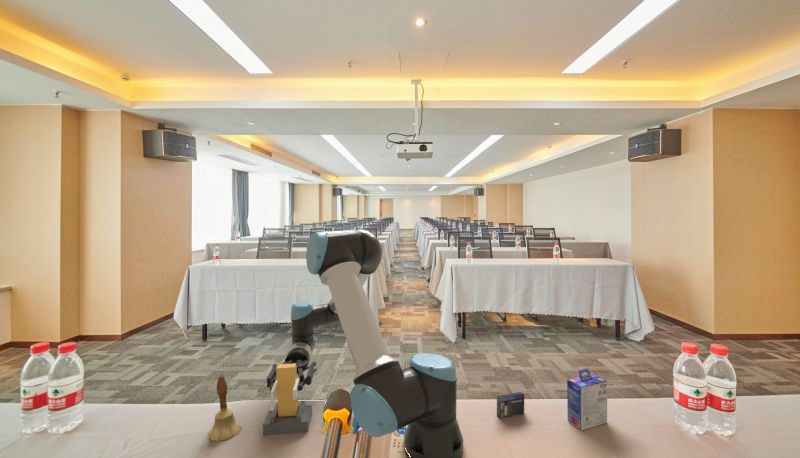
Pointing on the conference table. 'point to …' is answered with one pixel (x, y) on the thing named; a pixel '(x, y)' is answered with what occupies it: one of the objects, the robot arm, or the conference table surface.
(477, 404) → the conference table surface
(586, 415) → the ink cartridge box
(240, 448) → the conference table surface
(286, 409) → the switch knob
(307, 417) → the stepped grey plinth
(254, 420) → the conference table surface
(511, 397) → the mini dv tape
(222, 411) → the hand bell
